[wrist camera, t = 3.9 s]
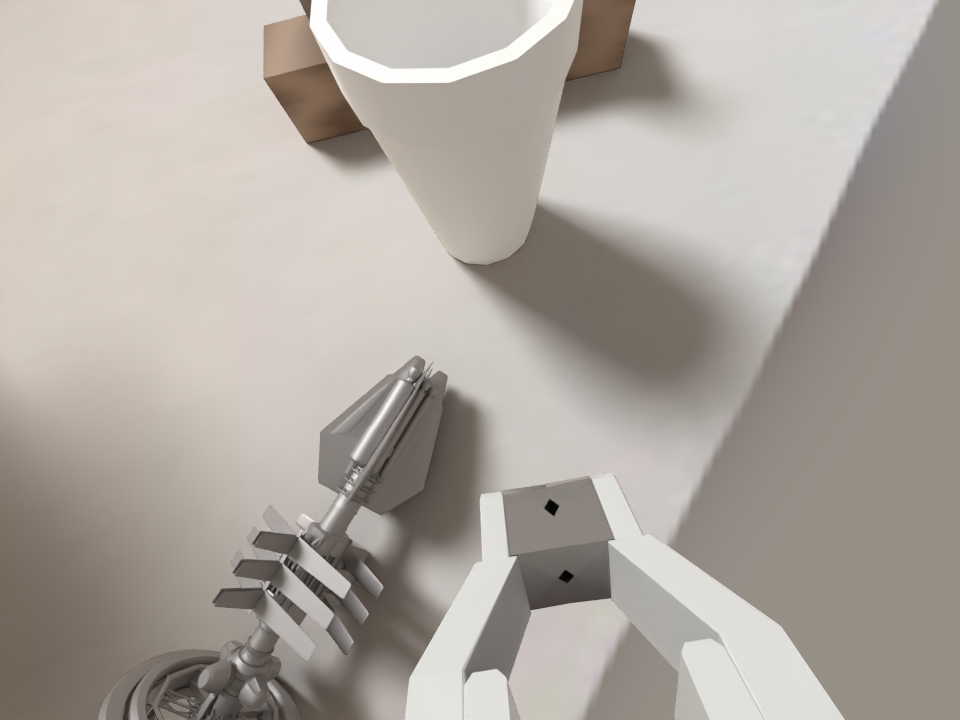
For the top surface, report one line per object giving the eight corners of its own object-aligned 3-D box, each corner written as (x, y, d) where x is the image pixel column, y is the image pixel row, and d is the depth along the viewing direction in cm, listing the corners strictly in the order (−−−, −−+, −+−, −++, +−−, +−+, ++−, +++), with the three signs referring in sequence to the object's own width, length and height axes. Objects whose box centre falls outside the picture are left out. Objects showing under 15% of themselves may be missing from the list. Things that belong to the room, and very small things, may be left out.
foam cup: (447, 152, 27) (381, -116, 15) (573, 181, 25) (619, -101, 13) (392, 265, 25) (261, 60, 13) (525, 305, 23) (526, 109, 11)
